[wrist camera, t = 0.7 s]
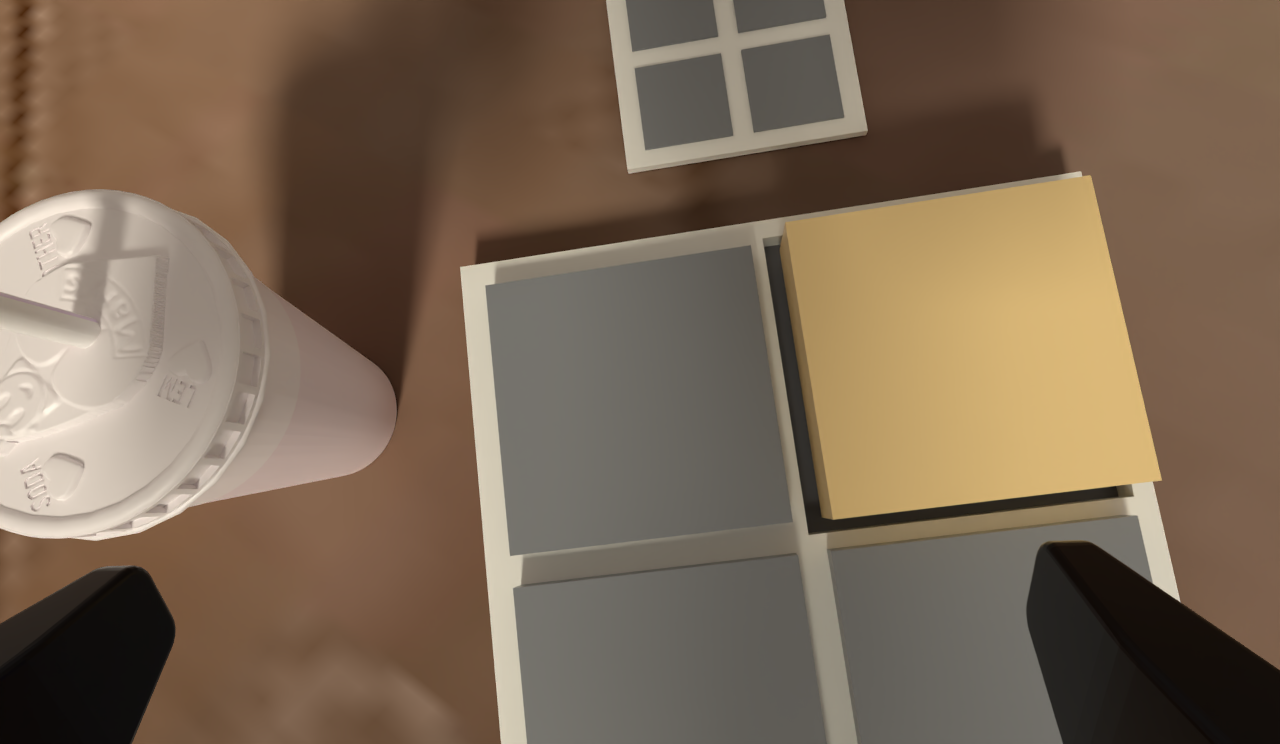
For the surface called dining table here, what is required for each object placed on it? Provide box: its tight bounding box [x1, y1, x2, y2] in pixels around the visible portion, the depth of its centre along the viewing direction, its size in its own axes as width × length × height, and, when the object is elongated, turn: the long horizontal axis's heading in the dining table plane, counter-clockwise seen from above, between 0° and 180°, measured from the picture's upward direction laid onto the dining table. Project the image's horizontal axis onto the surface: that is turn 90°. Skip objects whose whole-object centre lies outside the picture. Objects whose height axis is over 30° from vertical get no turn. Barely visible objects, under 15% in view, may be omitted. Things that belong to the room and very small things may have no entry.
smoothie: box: [0, 189, 397, 541], centre depth 16 cm, size 6×6×14 cm
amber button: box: [779, 175, 1162, 520], centre depth 19 cm, size 7×7×2 cm
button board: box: [460, 172, 1180, 744], centre depth 20 cm, size 25×17×2 cm
